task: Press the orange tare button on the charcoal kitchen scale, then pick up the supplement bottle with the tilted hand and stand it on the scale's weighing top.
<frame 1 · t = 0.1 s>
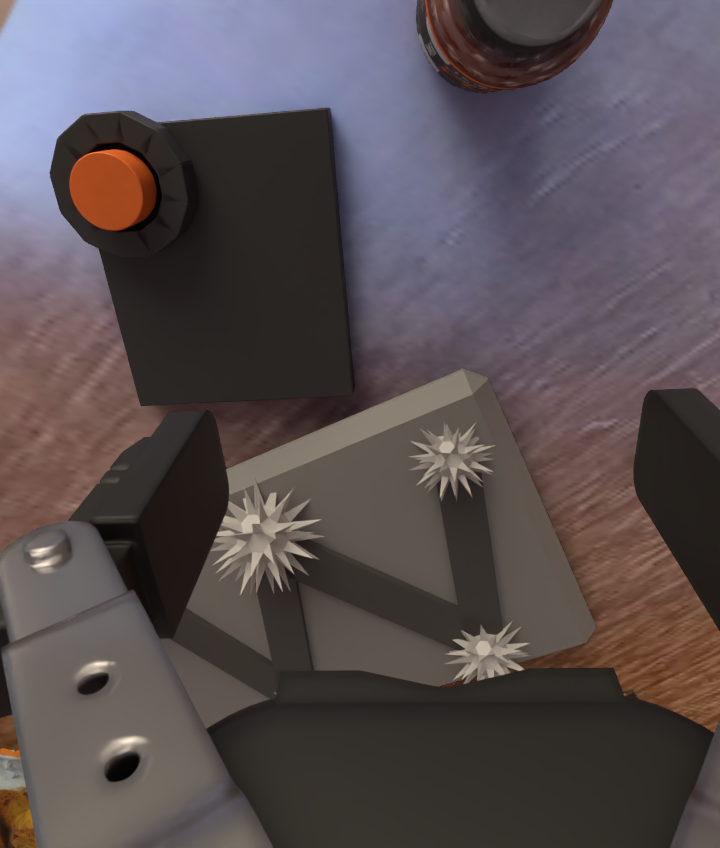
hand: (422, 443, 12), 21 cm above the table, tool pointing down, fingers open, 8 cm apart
grey spiked board: (327, 576, 41), on the table
tare button: (114, 190, 27), point 4 cm above the table, slide at 0.2 cm
food on plate: (40, 804, 56), on the table
supplement bottle: (484, 15, 26), on the table
kitchen scale: (229, 268, 32), on the table
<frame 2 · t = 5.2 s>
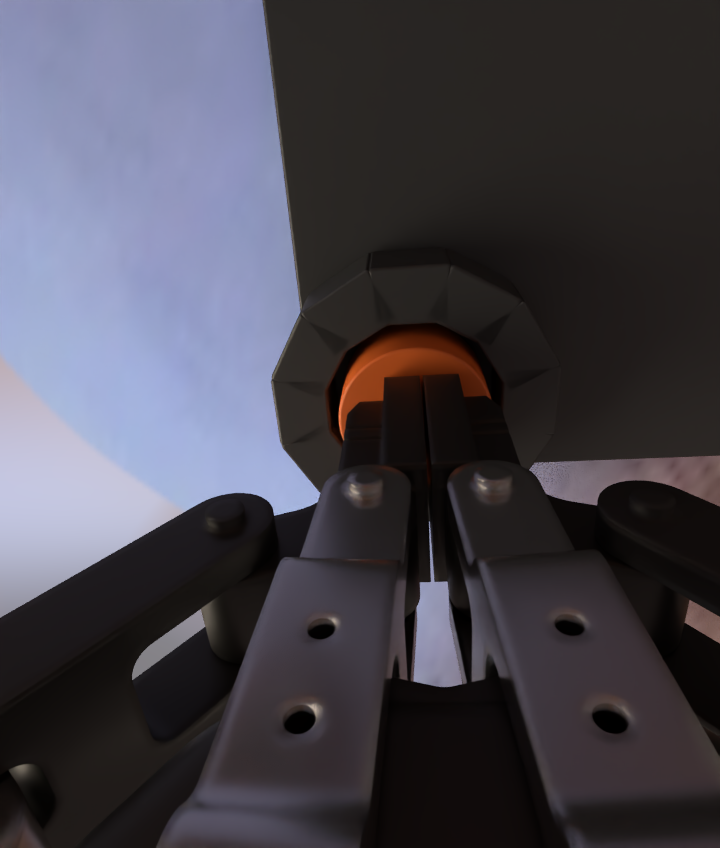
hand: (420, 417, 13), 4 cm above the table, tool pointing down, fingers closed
tare button: (414, 402, 13), point 3 cm above the table, slide at -0.6 cm, touching gripper
kitchen scale: (604, 202, 14), on the table
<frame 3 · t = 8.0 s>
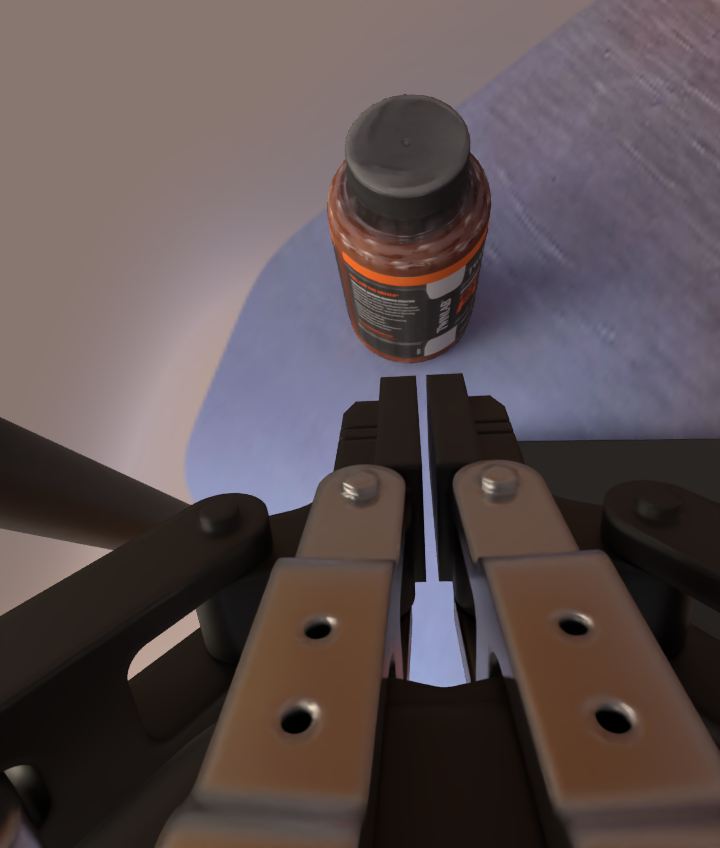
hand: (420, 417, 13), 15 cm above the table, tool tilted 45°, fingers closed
supplement bottle: (410, 313, 30), on the table
kitchen scale: (656, 587, 25), on the table
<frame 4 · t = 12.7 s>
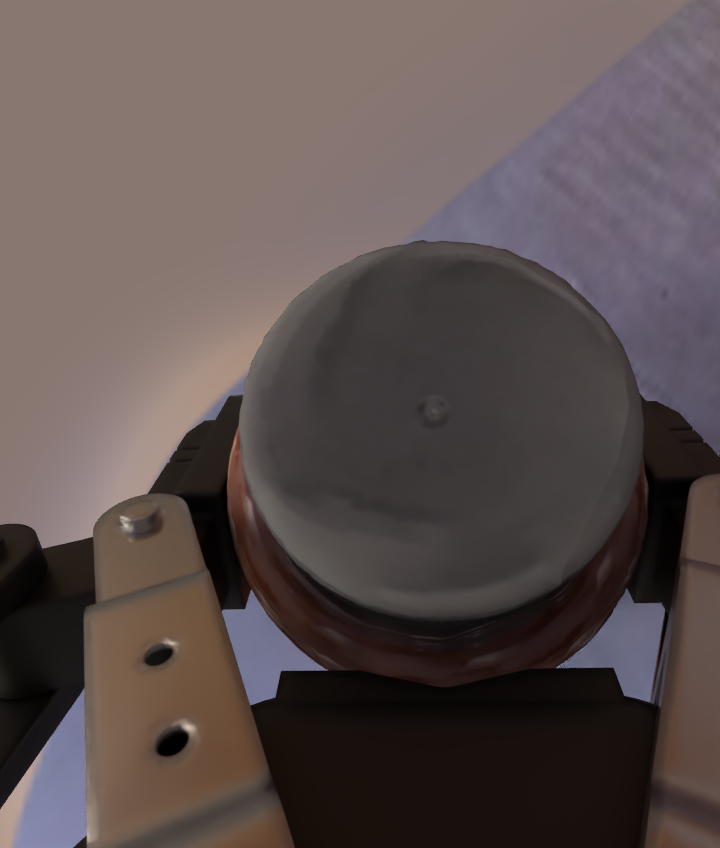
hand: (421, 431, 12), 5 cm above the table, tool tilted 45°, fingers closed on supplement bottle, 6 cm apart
supplement bottle: (424, 548, 17), on the table, touching gripper
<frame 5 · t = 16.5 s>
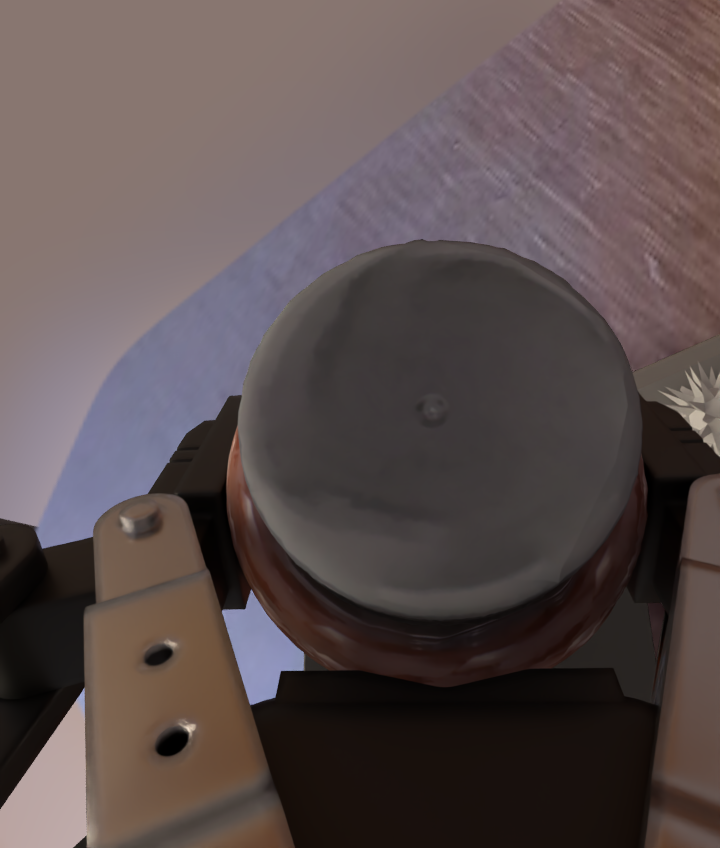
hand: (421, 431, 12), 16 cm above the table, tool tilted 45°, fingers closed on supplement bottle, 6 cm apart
supplement bottle: (424, 548, 17), point 11 cm above the table, touching gripper
kitchen scale: (475, 703, 25), on the table
when the fingers open (7 cm above the table, at t = 20.6 s): supplement bottle stays where it is, resting on kitchen scale.
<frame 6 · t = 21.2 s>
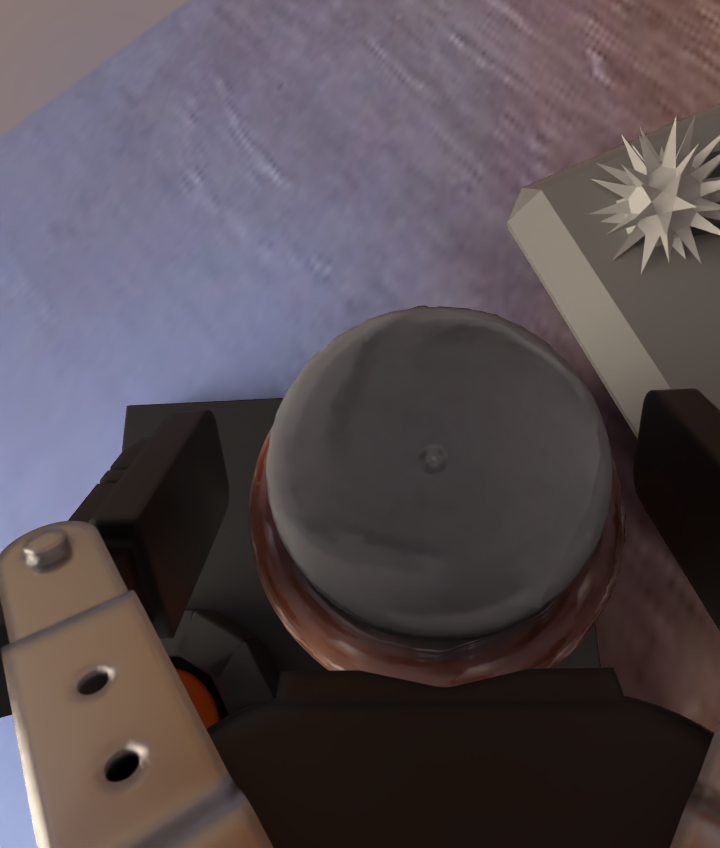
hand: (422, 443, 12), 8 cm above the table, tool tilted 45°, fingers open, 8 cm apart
tare button: (145, 740, 15), point 4 cm above the table, slide at 0.1 cm
supplement bottle: (426, 559, 18), point 1 cm above the table, touching kitchen scale
kitchen scale: (345, 592, 19), on the table
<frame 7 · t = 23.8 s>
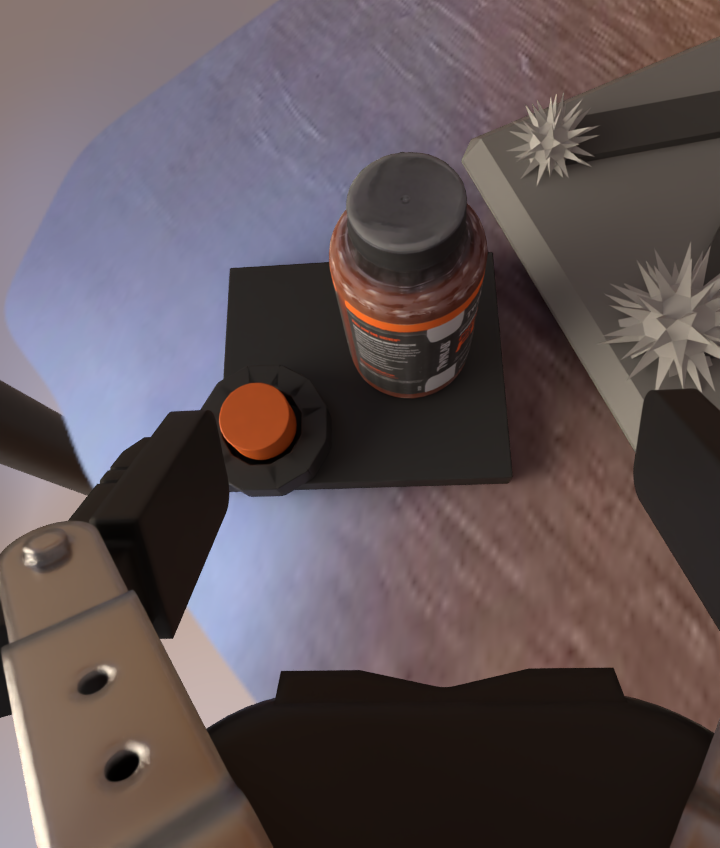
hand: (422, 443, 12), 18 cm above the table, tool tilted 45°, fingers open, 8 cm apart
tare button: (258, 421, 28), point 4 cm above the table, slide at 0.1 cm
supplement bottle: (409, 348, 31), point 1 cm above the table, touching kitchen scale
kitchen scale: (362, 374, 32), on the table
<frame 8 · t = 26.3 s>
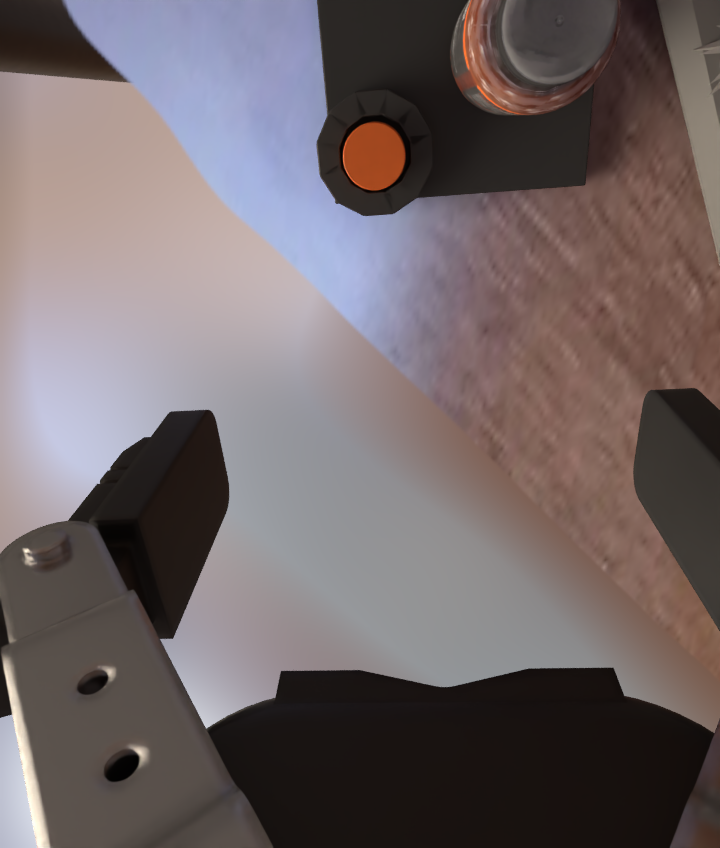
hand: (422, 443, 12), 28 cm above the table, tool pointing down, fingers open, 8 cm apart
tare button: (374, 155, 32), point 4 cm above the table, slide at 0.1 cm
supplement bottle: (506, 49, 31), point 1 cm above the table, touching kitchen scale
kitchen scale: (455, 74, 33), on the table
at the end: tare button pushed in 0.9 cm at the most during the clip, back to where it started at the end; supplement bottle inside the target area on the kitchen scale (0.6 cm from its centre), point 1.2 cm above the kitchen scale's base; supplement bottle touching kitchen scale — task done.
